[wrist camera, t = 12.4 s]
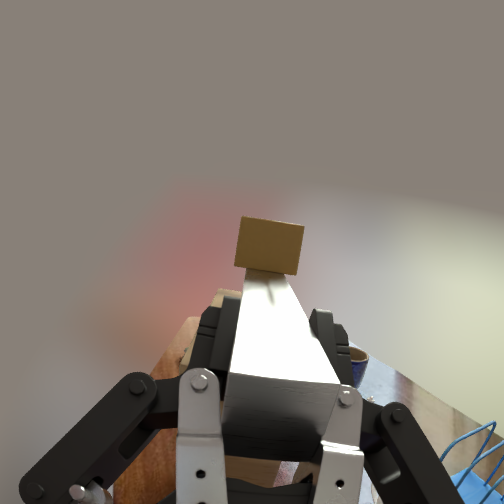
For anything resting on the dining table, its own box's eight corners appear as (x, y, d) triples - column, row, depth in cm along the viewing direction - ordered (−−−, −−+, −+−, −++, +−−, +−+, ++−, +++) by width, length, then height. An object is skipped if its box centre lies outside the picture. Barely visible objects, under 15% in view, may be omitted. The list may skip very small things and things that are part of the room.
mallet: (344, 462, 8) (410, 239, 7) (182, 448, 8) (209, 205, 7) (284, 297, 30) (296, 224, 30) (232, 289, 30) (243, 216, 30)
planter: (333, 400, 72) (344, 363, 71) (314, 381, 83) (323, 345, 81) (365, 395, 76) (377, 359, 75) (345, 378, 86) (354, 344, 85)
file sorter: (404, 503, 35) (443, 438, 34) (463, 474, 40) (497, 414, 38) (481, 585, 11) (550, 523, 10) (534, 533, 16) (585, 469, 14)
